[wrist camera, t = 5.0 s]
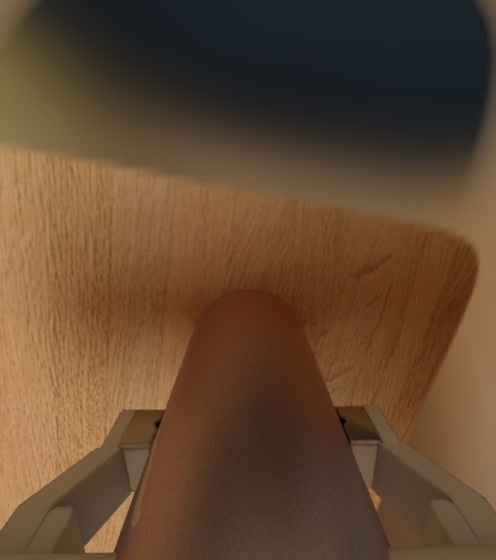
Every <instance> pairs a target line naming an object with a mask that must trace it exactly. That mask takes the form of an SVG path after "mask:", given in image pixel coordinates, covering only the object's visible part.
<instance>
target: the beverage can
mask: <svg viewBox="0 0 496 560" xmlns="http://www.w3.org/2000/svg"><path fill="white" fill-rule="evenodd" d="M388 547H390V545H389V542H388V540H387V537H386V535H385V532H384V529H383V527H382V524H381V522H380V519H379V517H378V515H377V512H376V509H375V507H374V504H373V502H372V499H371V497H370V494H369V492H368V489H367V487H366V484H365V482H364V479H363V477H362V474H361V472H360V469H359V467H358V464H357V462H356V459H355V457H354V454H353V452H352V449H351V447H350V444H349V442H348V439H347V437H346V434H345V432H344V429H343V427H342V424H341V422H340V419H339V417H338V414H337V412H336V409H335V407H334V404H333V402H332V399H331V397H330V394H329V392H328V389H327V387H326V384H325V382H324V379H323V377H322V374H321V372H320V369H319V367H318V364H317V362H316V359H315V357H314V354H313V352H312V349H311V347H310V344H309V342H308V339H307V337H306V334H305V332H304V329H303V327H302V324H301V322H300V320H299V318H298V316H297V315H296V313H295V312H294V311H293V309H292V308H291V307H290V306H289V305H287V304H286V303H285V302H284V301H282V300H281V299H279V298H277V297H275V296H273V295H270V294H267V293H264V292H259V291H239V292H234V293H230V294H227V295H225V296H223V297H221V298H219V299H217V300H215V301H214V302H213V303H211V304H210V305H209V306H208V307H207V308H206V309H205V310H204V311H203V312H202V314H201V315H200V317H199V319H198V320H197V323H196V325H195V328H194V331H193V333H192V336H191V339H190V342H189V344H188V347H187V350H186V353H185V355H184V358H183V361H182V364H181V367H180V369H179V372H178V375H177V378H176V380H175V383H174V386H173V389H172V391H171V394H170V397H169V400H168V403H167V405H166V408H165V411H164V414H163V416H162V419H161V422H160V425H159V427H158V430H157V433H156V436H155V439H154V441H153V444H152V447H151V450H150V452H149V455H148V458H147V461H146V463H145V466H144V469H143V472H142V475H141V477H140V480H139V483H138V486H137V488H136V491H135V494H134V497H133V499H132V502H131V505H130V508H129V511H128V513H127V516H126V519H125V522H124V524H123V527H122V530H121V533H120V535H119V538H118V541H117V544H116V547H115V549H114V552H113V553H116V559H115V560H390V557H389V554H388Z"/></svg>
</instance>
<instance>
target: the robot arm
mask: <svg viewBox="0 0 496 560" xmlns="http://www.w3.org/2000/svg"><path fill="white" fill-rule="evenodd" d="M335 409H336V412H337V414H338V417H339V419H340V422H341V424H342V427H343V429H344V432H345V434H346V437H347V439H348V442H349V444H350V447H351V449H352V452H353V454H354V457H355V459H356V462H357V464H358V467H359V469H360V472H361V474H362V477H363V479H364V482H365V484H366V487H372V489H373V490H374V491H375V492H376V494H377V495H378V496H379V497H380V498H381V499H382V500H383V501H384V502H385V503H386V504H387V505H388V506H389V507H390V508H391V509H392V511H393V512H394V513H395V514H396V515H397V516H398V517H399V518H400V519H401V520H402V521H403V522H404V523H405V524H406V525H407V526H408V528H409V529H410V530H411V531H412V532H413V533H414V534H415V535H416V536H417V537H418V538H419V539H420V545H419V547H388V554H389V557H390V560H496V512H495V510H494V509H493V508H492V506H491V505H490V504H489V503H488V501H487V500H486V498H485V497H483V496H482V495H480V494H479V493H478V492H476V491H475V490H473V489H472V488H470V487H469V486H467V485H466V484H464V483H463V482H461V481H460V480H459V479H457V478H456V477H454V476H453V475H451V474H450V473H448V472H447V471H445V470H444V469H443V468H441V467H440V466H438V465H437V464H435V463H434V462H432V461H431V460H429V459H428V458H427V457H425V456H424V455H422V454H421V453H419V452H418V451H416V450H415V449H413V448H412V447H410V446H409V445H408V444H406V443H400V441H399V439H398V438H397V436H396V435H395V433H394V431H393V430H392V428H391V426H390V425H389V423H388V422H387V420H386V418H385V417H384V415H383V413H382V412H381V410H380V408H379V407H378V406H377V405H363V406H335ZM164 411H165V410H142V409H138V410H123V411H122V412H121V413H120V414H119V416H118V418H117V419H116V421H115V423H114V425H113V427H112V428H111V430H110V432H109V434H108V436H107V437H106V439H105V441H104V443H103V445H102V446H101V448H96V449H95V450H93V451H92V452H91V453H89V454H88V455H86V456H85V457H84V458H82V459H81V460H80V461H78V462H77V463H76V464H74V465H73V466H72V467H70V468H69V469H68V470H66V471H65V472H64V473H62V474H61V475H59V476H58V477H57V478H55V479H54V480H53V481H51V482H50V483H49V484H47V485H46V486H45V487H43V488H42V489H41V490H39V491H38V492H37V493H35V494H34V495H32V496H31V497H30V498H28V499H27V500H26V501H24V502H23V503H22V504H20V505H19V506H18V507H17V509H16V510H15V511H14V513H13V514H12V516H11V517H10V518H9V520H8V521H7V523H6V524H5V526H4V527H3V528H2V530H1V531H0V560H115V559H116V553H85V549H84V546H85V545H86V544H87V543H88V542H89V541H90V539H91V538H92V537H93V536H94V535H95V534H96V533H97V531H98V530H99V529H100V528H101V527H102V526H103V525H104V523H105V522H106V521H107V520H108V519H109V518H110V517H111V515H112V514H113V513H114V512H115V511H116V510H117V509H118V507H119V506H120V505H121V504H122V503H123V502H124V501H125V499H126V498H127V497H128V496H129V495H130V494H131V492H135V491H136V488H137V486H138V483H139V480H140V477H141V475H142V472H143V469H144V466H145V463H146V461H147V458H148V455H149V452H150V450H151V447H152V444H153V441H154V439H155V436H156V433H157V430H158V427H159V425H160V422H161V419H162V416H163V414H164Z"/></svg>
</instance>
